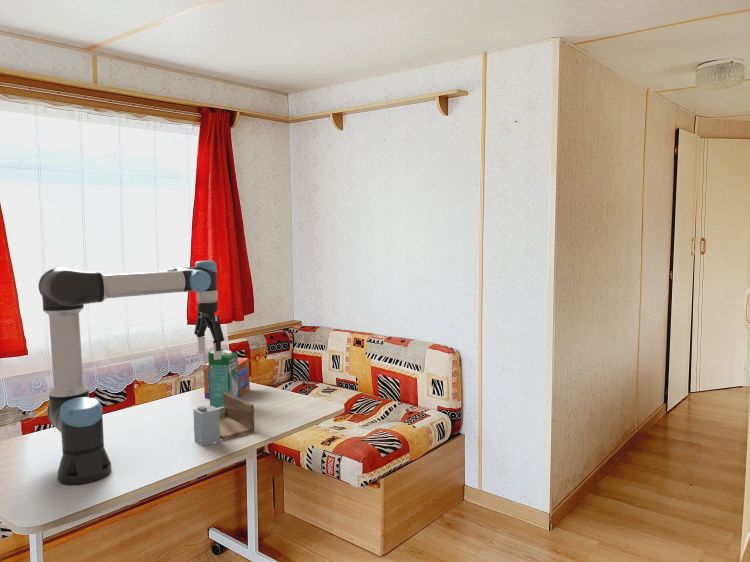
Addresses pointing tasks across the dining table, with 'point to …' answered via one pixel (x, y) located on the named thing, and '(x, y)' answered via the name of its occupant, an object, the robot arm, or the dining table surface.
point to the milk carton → (223, 376)
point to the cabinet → (206, 425)
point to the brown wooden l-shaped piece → (235, 417)
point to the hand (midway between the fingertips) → (209, 356)
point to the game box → (242, 377)
